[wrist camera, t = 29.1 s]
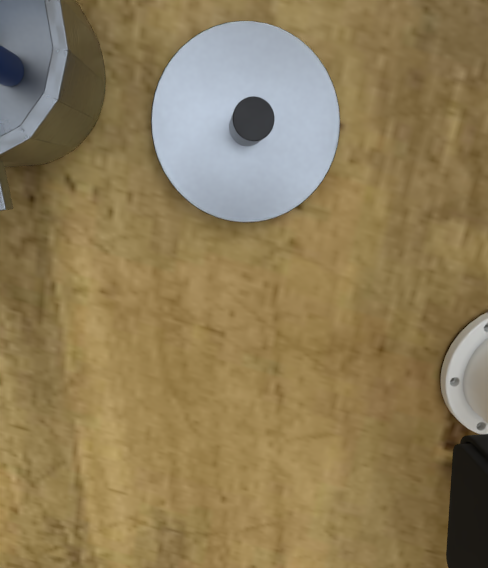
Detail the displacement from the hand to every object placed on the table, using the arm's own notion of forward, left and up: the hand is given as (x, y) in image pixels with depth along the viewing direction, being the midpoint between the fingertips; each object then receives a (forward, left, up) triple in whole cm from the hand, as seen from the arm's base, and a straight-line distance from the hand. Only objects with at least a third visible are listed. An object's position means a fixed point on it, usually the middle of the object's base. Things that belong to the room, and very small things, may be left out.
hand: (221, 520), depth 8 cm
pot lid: (-3, -10, -26) cm, 28 cm away
